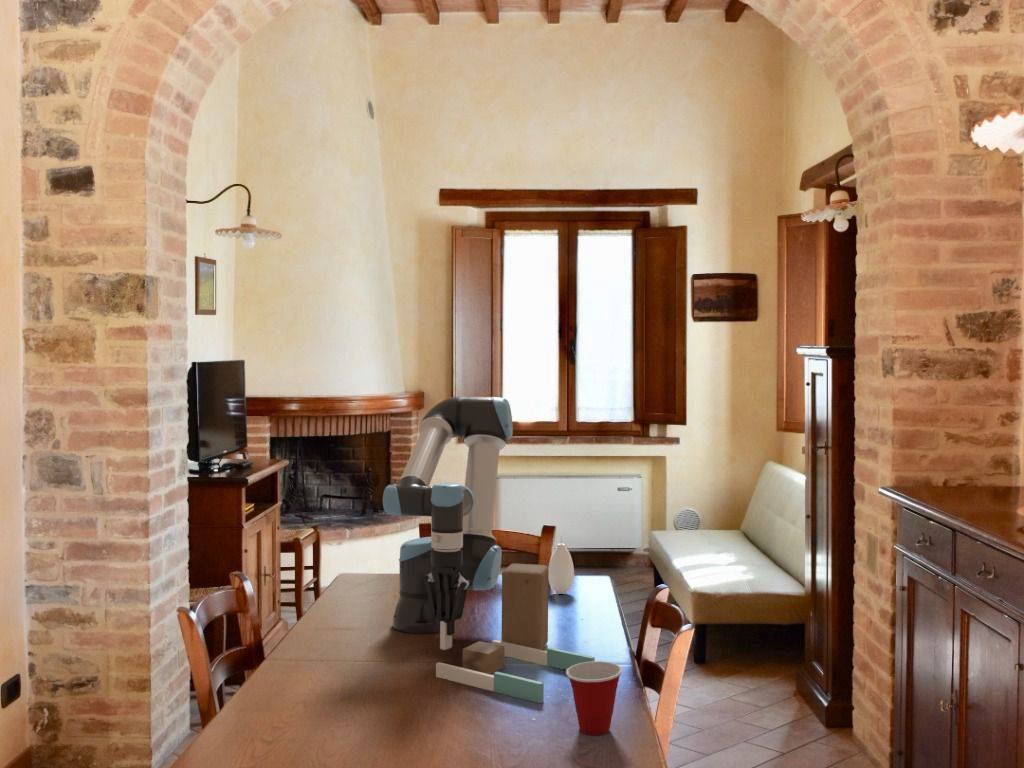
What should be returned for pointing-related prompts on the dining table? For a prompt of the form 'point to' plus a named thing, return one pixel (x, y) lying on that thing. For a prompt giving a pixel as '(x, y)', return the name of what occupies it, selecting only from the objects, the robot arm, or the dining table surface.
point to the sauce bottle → (561, 570)
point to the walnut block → (483, 657)
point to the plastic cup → (594, 694)
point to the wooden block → (525, 605)
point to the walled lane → (509, 682)
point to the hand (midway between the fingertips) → (446, 647)
